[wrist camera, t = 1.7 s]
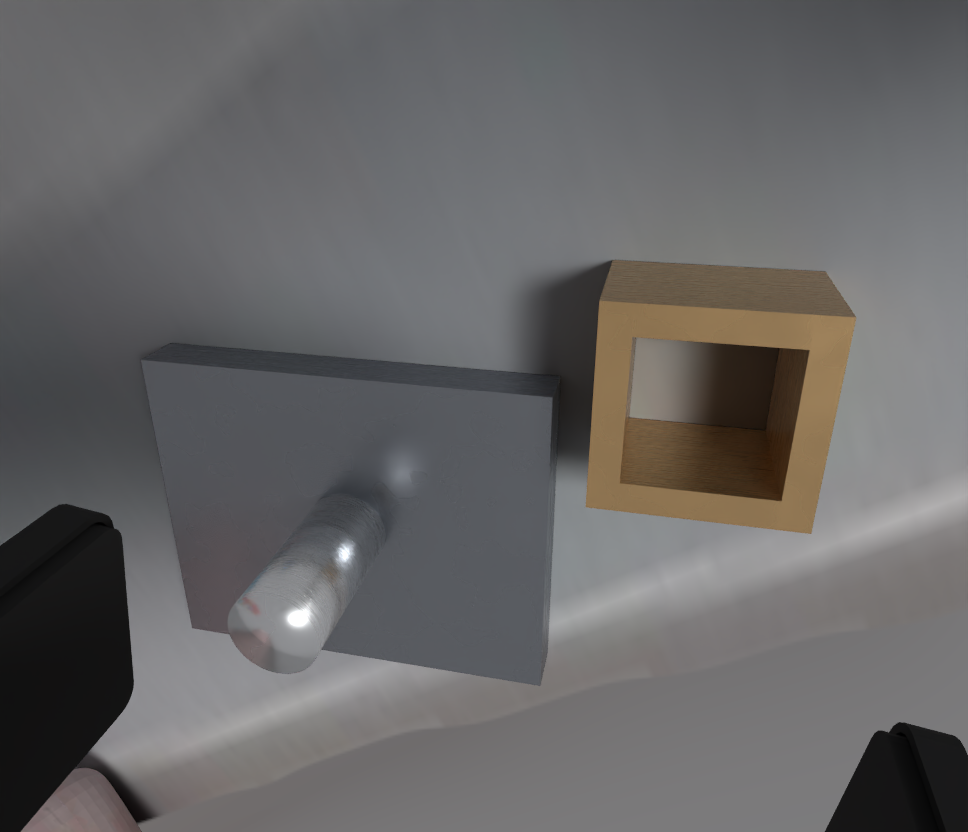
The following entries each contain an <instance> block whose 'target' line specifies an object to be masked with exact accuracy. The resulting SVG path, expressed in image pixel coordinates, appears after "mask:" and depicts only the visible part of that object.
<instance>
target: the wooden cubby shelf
mask: <svg viewBox="0 0 968 832" xmlns="http://www.w3.org/2000/svg"><path fill="white" fill-rule="evenodd" d="M855 321H856V316H855V315H854V313H853V312H852V310H851V309H850V307H849V306H848V304H847V303H846V301H845V300H844V299H843V297H842V296H841V294H840V293H839V291H838V290H837V288H836V287H835V285H834V284H833V282H832V281H831V279H830V278H829V276H828V275H827V273H826V272H822V271H804V270H786V269H767V268H749V267H731V266H713V265H694V264H676V263H658V262H639V261H621V260H613V261H612V264H611V267H610V270H609V273H608V276H607V279H606V282H605V285H604V288H603V291H602V294H601V297H600V300H599V314H598V329H597V344H596V359H595V374H594V390H593V405H592V420H591V435H590V450H589V465H588V480H587V495H586V507H589V508H597V509H606V510H614V511H623V512H631V513H639V514H648V515H656V516H665V517H673V518H682V519H690V520H699V521H707V522H716V523H724V524H732V525H741V526H749V527H758V528H766V529H775V530H783V531H792V532H800V533H809V534H811V532H812V527H813V522H814V517H815V512H816V508H817V503H818V498H819V493H820V489H821V484H822V479H823V474H824V469H825V465H826V460H827V455H828V450H829V446H830V441H831V436H832V431H833V426H834V422H835V417H836V412H837V407H838V402H839V398H840V393H841V388H842V383H843V379H844V374H845V369H846V364H847V359H848V355H849V350H850V345H851V340H852V336H853V331H854V326H855ZM636 337H640V338H653V339H667V340H680V341H694V342H707V343H721V344H735V345H748V346H762V347H775V348H779V354H778V360H777V366H776V372H775V378H774V384H773V389H772V395H771V401H770V407H769V413H768V419H767V425H766V431H764V430H753V429H743V428H732V427H722V426H711V425H700V424H690V423H679V422H669V421H658V420H647V419H637V418H629V412H630V401H631V389H632V378H633V367H634V355H635V344H636Z"/></svg>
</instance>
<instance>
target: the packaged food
mask: <svg viewBox="0 0 968 832" xmlns="http://www.w3.org/2000/svg"><path fill="white" fill-rule="evenodd" d="M21 832H142V831H141V830H140V828H139V827H138V825H137V823H136V822H135V820H134V819H133V817H132V816H131V814H130V812H129V811H128V809H127V808H126V806H125V805H124V803H123V801H122V800H121V799H120V797H119V796H118V794H117V793H116V791H115V790H114V788H113V787H112V785H111V784H110V783H109V781H108V780H107V779H106V778H105V776H103V775H102V774H101V773H100V772H98V771H96V770H93V769H90V768H78V769H74V770H73V771H72V772H71V773H70V774H69V775H68V777H67V778H66V779H65V780H64V781H63V782H62V784H61V785H60V786H59V787H58V788H57V789H56V791H55V792H54V793H53V794H52V795H51V797H50V798H49V799H48V800H47V801H46V802H45V804H44V805H43V806H42V807H41V808H40V809H39V811H38V812H37V813H36V814H35V815H34V817H33V818H32V819H31V820H30V821H29V822H28V824H27V825H26V826H25V827H24V828H23V829H22V831H21Z"/></svg>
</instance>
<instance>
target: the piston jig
mask: <svg viewBox="0 0 968 832" xmlns="http://www.w3.org/2000/svg"><path fill="white" fill-rule="evenodd" d="M141 364H142V369H143V374H144V380H145V385H146V390H147V395H148V400H149V406H150V411H151V416H152V421H153V426H154V432H155V437H156V442H157V447H158V452H159V458H160V463H161V468H162V473H163V478H164V484H165V489H166V494H167V499H168V504H169V510H170V515H171V520H172V525H173V530H174V536H175V541H176V546H177V551H178V556H179V562H180V567H181V572H182V577H183V582H184V588H185V593H186V598H187V603H188V608H189V614H190V619H191V624H192V628H195V629H201V630H207V631H213V632H219V633H225V634H230V636H231V639H232V640H233V642H234V644H235V645H236V647H237V648H238V650H239V651H240V652H241V653H242V654H243V655H244V656H245V657H246V658H247V659H249V660H250V661H251V662H253V663H254V664H256V665H258V666H259V667H261V668H264V669H266V670H269V671H272V672H276V673H282V674H291V673H297V672H300V671H303V670H305V669H306V668H308V667H309V666H310V665H311V664H312V663H313V662H314V661H315V659H316V657H317V656H318V654H319V652H320V651H321V650H327V651H333V652H339V653H345V654H351V655H357V656H363V657H369V658H375V659H381V660H387V661H393V662H399V663H406V664H412V665H418V666H424V667H430V668H436V669H442V670H448V671H454V672H460V673H466V674H472V675H478V676H484V677H490V678H496V679H502V680H508V681H514V682H520V683H526V684H532V685H538V686H540V685H541V680H542V676H543V671H544V667H545V662H546V658H547V653H548V632H549V610H550V589H551V567H552V546H553V524H554V503H555V482H556V460H557V439H558V417H559V396H560V376H549V375H537V374H526V373H514V372H502V371H491V370H479V369H467V368H455V367H444V366H432V365H420V364H409V363H397V362H385V361H373V360H362V359H350V358H338V357H327V356H315V355H303V354H292V353H280V352H268V351H256V350H245V349H233V348H221V347H210V346H198V345H186V344H174V343H170V344H168V345H166V346H165V347H163V348H161V349H159V350H158V351H156V352H154V353H152V354H151V355H149V356H147V357H145V358H143V359H142V360H141Z"/></svg>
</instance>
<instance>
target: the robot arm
mask: <svg viewBox="0 0 968 832" xmlns="http://www.w3.org/2000/svg"><path fill="white" fill-rule="evenodd" d="M133 685H134V679H133V667H132V654H131V642H130V630H129V617H128V605H127V593H126V580H125V568H124V556H123V544H122V537H121V533H120V532H119V531H118V530H117V529H114V527H113V523H112V520H111V519H110V517H109V516H107V515H105V514H102V513H99V512H95V511H91V510H87V509H83V508H79V507H76V506H72V505H68V504H62V505H58V506H56V507H54V508H52V509H51V510H49V511H48V512H47V513H45V514H44V515H43V516H41V517H40V518H38V519H37V520H36V521H34V522H33V523H31V524H30V525H29V526H27V527H26V528H24V529H23V530H22V531H20V532H19V533H17V534H16V535H15V536H13V537H12V538H11V539H9V540H8V541H6V542H5V543H4V544H2V545H1V546H0V832H21V831H22V829H23V828H24V827H25V826H26V825H27V824H28V822H29V821H30V820H31V819H32V818H33V817H34V815H35V814H36V813H37V812H38V811H39V809H40V808H41V807H42V806H43V805H44V804H45V802H46V801H47V800H48V799H49V798H50V797H51V795H52V794H53V793H54V792H55V791H56V789H57V788H58V787H59V786H60V785H61V784H62V782H63V781H64V780H65V779H66V778H67V777H68V775H69V774H70V773H71V772H72V771H73V770H74V768H75V767H76V766H77V765H78V764H79V762H80V761H81V760H82V759H83V758H84V757H85V755H86V754H87V753H88V752H89V751H90V750H91V748H92V747H93V746H94V745H95V744H96V742H97V741H98V740H99V739H100V738H101V737H102V735H103V734H104V733H105V732H106V731H107V730H108V728H109V727H110V726H111V725H112V724H113V722H114V721H115V720H116V719H117V718H118V717H119V715H120V714H121V713H122V712H123V710H124V709H125V707H126V706H127V704H128V702H129V700H130V697H131V695H132V691H133ZM825 832H968V755H967V753H966V750H965V748H964V746H963V745H962V743H961V741H960V740H959V739H958V738H957V737H955V736H953V735H949V734H945V733H942V732H938V731H934V730H930V729H926V728H922V727H919V726H915V725H911V724H907V723H901V722H899V723H897V724H896V725H894V726H893V728H892V729H891V731H890V732H889V733H888V732H885V731H877V732H876V733H875V734H874V735H873V737H872V738H871V740H870V742H869V744H868V746H867V748H866V750H865V753H864V754H863V756H862V758H861V760H860V762H859V764H858V766H857V768H856V771H855V772H854V774H853V776H852V778H851V780H850V782H849V784H848V786H847V788H846V790H845V793H844V794H843V796H842V798H841V800H840V802H839V805H838V806H837V809H836V810H835V812H834V814H833V817H832V819H831V821H830V823H829V825H828V827H827V829H826V831H825Z"/></svg>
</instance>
